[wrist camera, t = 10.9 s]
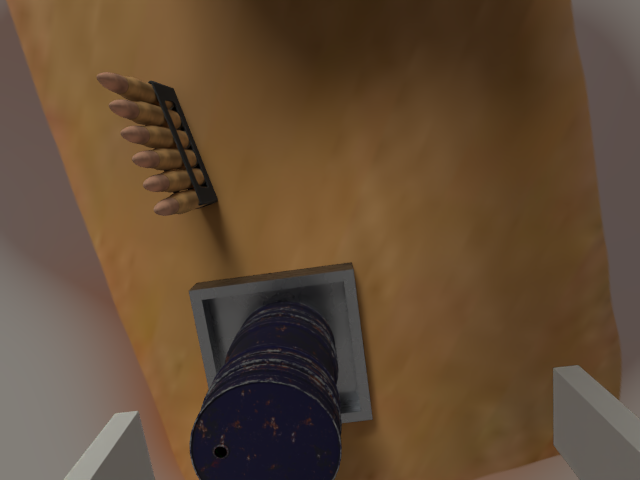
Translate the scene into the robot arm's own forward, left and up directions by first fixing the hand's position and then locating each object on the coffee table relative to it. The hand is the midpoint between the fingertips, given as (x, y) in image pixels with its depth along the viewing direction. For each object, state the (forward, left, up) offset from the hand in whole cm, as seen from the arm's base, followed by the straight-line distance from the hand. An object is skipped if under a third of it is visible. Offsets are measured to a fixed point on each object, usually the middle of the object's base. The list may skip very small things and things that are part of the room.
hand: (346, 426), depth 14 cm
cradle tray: (+9, -6, -27) cm, 29 cm away
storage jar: (+9, -6, -27) cm, 29 cm away
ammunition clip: (-11, -12, -28) cm, 32 cm away
